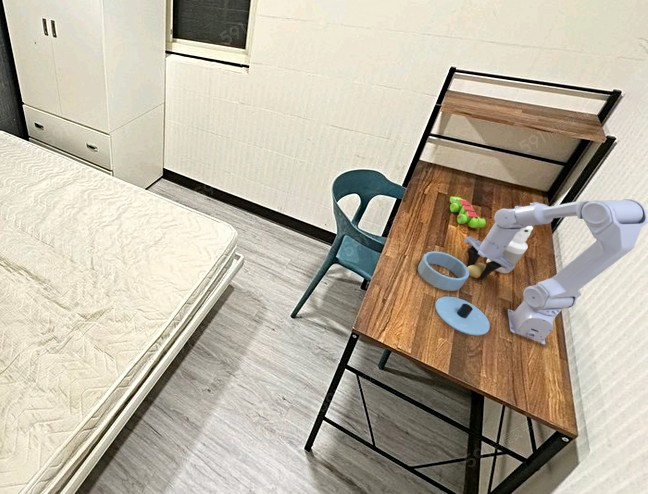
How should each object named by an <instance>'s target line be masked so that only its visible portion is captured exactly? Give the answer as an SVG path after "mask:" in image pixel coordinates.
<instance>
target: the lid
mask: <svg viewBox="0 0 648 494" xmlns="http://www.w3.org/2000/svg"><path fill="white" fill-rule="evenodd" d="M434 308H435V311H436V313H437V315H438V316H439V318H440V319H441V320H442V322H444V323H446V325H448V326H449V327H450V328H452V329H454V330H456V331H458V332H460V333H462V334H465V335H469V336H475V337H476V336H479V337H480V336H483V335H485V334H487V333H488V332H489V330H490V328H491V325H490V321H489V319H488V317H487V316H486V314H485V313H484V312H483V311H481V310H480V309H479V308H478V307H477V306H475V305H474V304H472V303H470V302H469V301H467V300H465V299H462V298H459V297H455V296H441V297H439V298H438V299H437V300H436V301H435V303H434Z"/></svg>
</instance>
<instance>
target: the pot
mask: <svg viewBox="0 0 648 494" xmlns="http://www.w3.org/2000/svg"><path fill="white" fill-rule="evenodd" d="M430 264H432V265H438V266H439V267H443V268H445V269H446V270H448V271H450V272H451V273H453V274H454V276H456V277H451V276H447V275H445V274H441V272H438V271H437V270H435V269H434V268H433V267H432V266H431V265H430ZM417 272H418V274H419V276H420V277H421V278H422V279H423V280H424V281H425V282H426V283H428V284H429V285H431V286H433V287H435V288H438V289H440V290H443V291H448V292H449V291H450V292H454V291H459V290H460V289H461V288H462V287H463V286H464V284H465V283H466V281H467V280H468V278H469V277H470V276H469V270H468V268H467V264H465V263H464V262H462V261H461V260H460V259H459V258H457V257H455V256H453V255H451V254H449V253H446V252H443V251H437V250H433V251H427V252H426V253H425V254H423V256H422V258H421V260H420V261H419V263H418V266H417Z"/></svg>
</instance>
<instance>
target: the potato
mask: <svg viewBox="0 0 648 494" xmlns="http://www.w3.org/2000/svg"><path fill="white" fill-rule="evenodd" d="M486 265H487V264H485V263H483V262H476V263H475V264H473V265H470V266H468V267H467V266H466V267H467V268H468V270H469V277H471V278H475V279H478V278H481V277H480V275H481V274H482V272H483V271H484V269H485V267H486Z"/></svg>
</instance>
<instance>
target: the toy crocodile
mask: <svg viewBox="0 0 648 494" xmlns="http://www.w3.org/2000/svg"><path fill="white" fill-rule="evenodd" d="M449 202H450V203H451V204H450V205H449V210H450V212H451V213H458V215H457V218H456V222H457V223H458V224H459V225H465V224H467V226H468V227H470V228H472V229H483V228H485V227H486V225H487V222H486V221H487V220H486V219H485V218H481V217H480V216H478V214H477V212H476V211H475V209H474V207H473V205H472V204H471V203H470V202H469V201H467V200H466V199H463V198H462V197H459V196H450V197H449Z"/></svg>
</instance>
